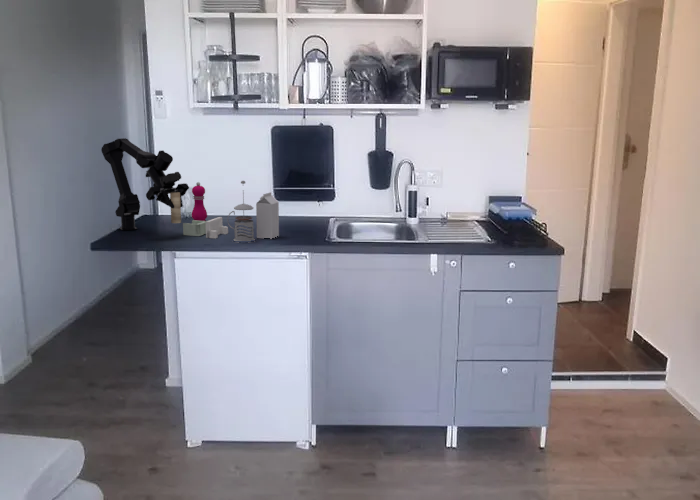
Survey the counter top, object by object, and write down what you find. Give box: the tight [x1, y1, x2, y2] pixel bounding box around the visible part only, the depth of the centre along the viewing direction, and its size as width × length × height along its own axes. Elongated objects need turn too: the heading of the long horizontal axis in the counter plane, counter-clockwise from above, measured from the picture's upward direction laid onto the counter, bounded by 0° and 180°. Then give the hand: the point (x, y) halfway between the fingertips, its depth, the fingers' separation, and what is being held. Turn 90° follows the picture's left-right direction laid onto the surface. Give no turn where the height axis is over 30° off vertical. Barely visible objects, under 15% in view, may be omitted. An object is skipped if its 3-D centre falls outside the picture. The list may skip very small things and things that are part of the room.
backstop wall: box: [205, 216, 229, 239], centre depth 274 cm, size 4×12×7 cm, turn 165°
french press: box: [227, 180, 256, 241], centre depth 263 cm, size 10×12×25 cm
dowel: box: [169, 192, 182, 224], centre depth 264 cm, size 4×4×12 cm
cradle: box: [182, 219, 207, 237], centre depth 277 cm, size 8×9×5 cm
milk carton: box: [255, 191, 280, 240], centre depth 271 cm, size 7×7×19 cm
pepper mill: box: [191, 181, 208, 221], centre depth 298 cm, size 7×7×20 cm
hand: (177, 207), depth 264 cm, fingers closed on dowel, 4 cm apart
